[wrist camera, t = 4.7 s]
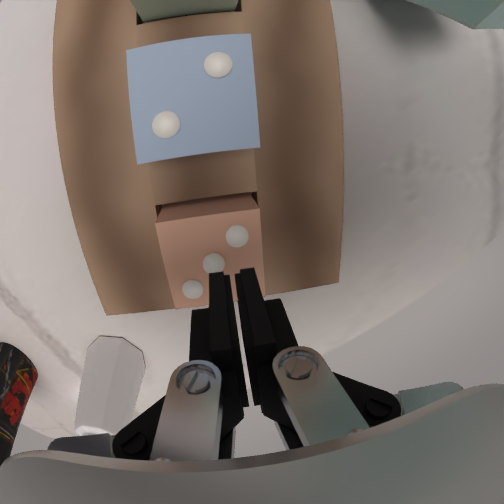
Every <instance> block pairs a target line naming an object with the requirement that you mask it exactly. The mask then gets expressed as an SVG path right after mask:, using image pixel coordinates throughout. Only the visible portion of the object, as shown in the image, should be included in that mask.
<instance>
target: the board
mask: <svg viewBox="0 0 504 504" xmlns="http://www.w3.org/2000/svg"><path fill="white" fill-rule="evenodd" d="M236 10H237V12H223V13H209V14H199V15H190V16H183V17H176V18H170V19H164V20H159V21H154V22H149V23H144V24H143V21H142V19H141V18H140V16H139V14H138V13H137V11H136V9H135V8H134V6H133V4H132V3H131V1H130V0H57V5H56V13H55V23H54V37H53V95H54V110H55V121H56V130H57V138H58V145H59V152H60V158H61V164H62V170H63V175H64V180H65V185H66V190H67V194H68V199H69V203H70V207H71V211H72V215H73V219H74V223H75V227H76V230H77V234H78V237H79V240H80V244H81V247H82V250H83V253H84V257H85V260H86V263H87V266H88V269H89V271H90V274H91V277H92V280H93V283H94V285H95V288H96V291H97V293H98V296H99V298H100V301H101V303H102V306H103V308H104V311H105V313H106V315H118V314H128V313H138V312H147V311H156V310H165V309H173V308H175V305H174V302H173V298H172V294H171V290H170V287H169V283H168V279H167V275H166V271H165V267H164V263H163V258H162V254H161V250H160V245H159V241H158V236H157V231H156V227H155V222H156V220H157V218H158V215H159V213H160V211H161V209H162V204H167V203H173V202H179V201H186V200H193V199H200V198H207V197H214V196H222V195H230V194H238V193H246V192H252V198H253V199H254V201H255V202H256V204H257V205H258V207H259V208H260V221H261V235H262V250H263V265H264V281H265V295H271V294H277V293H283V292H289V291H295V290H300V289H306V288H311V287H317V286H322V285H328V284H333V283H338V282H339V271H340V258H341V242H342V223H343V191H344V149H343V118H342V100H341V85H340V73H339V63H338V53H337V45H336V37H335V29H334V22H333V16H332V9H331V4H330V0H238V3H237V6H236ZM227 34H251V41H252V52H253V63H254V75H255V87H256V99H257V111H258V123H259V136H260V148H249V149H238V150H229V151H220V152H212V153H204V154H197V155H190V156H183V157H177V158H171V159H165V160H159V161H154V162H148V163H143V164H138V165H137V159H136V152H135V145H134V137H133V129H132V121H131V111H130V101H129V89H128V75H127V55H126V50H130V49H134V48H138V47H142V46H147V45H152V44H157V43H162V42H167V41H173V40H180V39H187V38H195V37H203V36H214V35H227Z"/></svg>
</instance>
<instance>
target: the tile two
mask: <svg viewBox="0 0 504 504" xmlns="http://www.w3.org/2000/svg"><path fill="white" fill-rule="evenodd" d="M126 55H127V75H128V89H129V101H130V111H131V121H132V129H133V137H134V145H135V152H136V159H137V165H138V164H143V163H148V162H154V161H159V160H165V159H171V158H177V157H183V156H190V155H197V154H204V153H212V152H220V151H229V150H238V149H249V148H260V136H259V123H258V111H257V99H256V87H255V75H254V63H253V52H252V41H251V34H227V35H214V36H203V37H195V38H187V39H180V40H173V41H167V42H162V43H157V44H152V45H147V46H142V47H138V48H134V49H130V50H126Z"/></svg>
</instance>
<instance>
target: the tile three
mask: <svg viewBox="0 0 504 504" xmlns="http://www.w3.org/2000/svg"><path fill="white" fill-rule="evenodd" d="M155 227H156V231H157V236H158V241H159V245H160V250H161V254H162V258H163V263H164V267H165V271H166V275H167V279H168V283H169V287H170V290H171V294H172V298H173V302H174V305H175V309H181V308H189V307H197V306H204V305H209V273H214V272H222V271H223V272H224V275H229V274H230V281H231V288H232V295H233V301H238V299H237V291H236V283H235V275H234V274H237V273H240V269H245V268H253V267H254V268H255V272H256V275H257V278H258V282H259V285H260V289H261V292H262V296H263V297H265V281H264V265H263V250H262V235H261V221H260V208H259V207H258V205H257V204H256V202H255V201H254V199H253V198H252V196H251V195H250V193H249V192H246V193H238V194H230V195H222V196H214V197H207V198H200V199H193V200H186V201H179V202H173V203H167V204H164V205H163V207H162V209H161V211H160V213H159V215H158V218H157V220H156V222H155Z"/></svg>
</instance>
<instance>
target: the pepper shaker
mask: <svg viewBox="0 0 504 504" xmlns="http://www.w3.org/2000/svg"><path fill="white" fill-rule="evenodd" d="M145 369H146V368H145V364H144V359H143V355H142V352H141V351H140V350H139V349H137V348H136V347H134V346H133V345H132V344H130V343H129V342H127V341H126V340H125V339H123V338H117V337H104V336H99V337H98V338H97V339H96V340H95V341H94V342H93V343H92V344H91V345H90V346H89V347H88V351H87V355H86V360H85V365H84V370H83V375H82V380H81V386H80V392H79V398H78V404H77V411H76V419H75V431H76V432H77V434H78V435H79V436H85V435H95V434H103V433H109V434H110V435H116V434H117V433H118V432H119V431H120V430H121V429H122V428H123V427H125V426H126V425H128V424H129V423H130V422H131V420H132V416H133V412H134V408H135V405H136V401H137V397H138V394H139V390H140V386H141V383H142V379H143V376H144V372H145Z"/></svg>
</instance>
